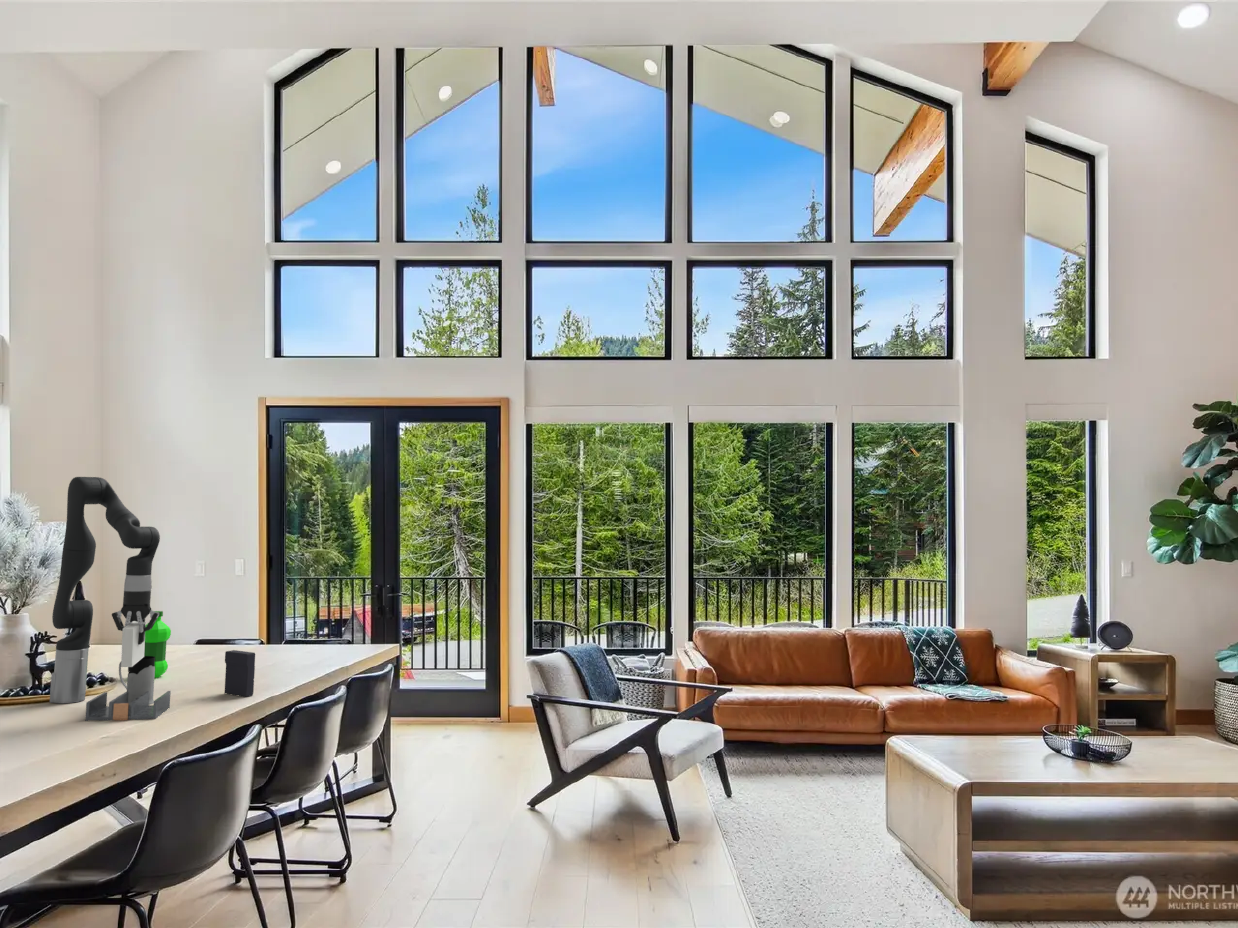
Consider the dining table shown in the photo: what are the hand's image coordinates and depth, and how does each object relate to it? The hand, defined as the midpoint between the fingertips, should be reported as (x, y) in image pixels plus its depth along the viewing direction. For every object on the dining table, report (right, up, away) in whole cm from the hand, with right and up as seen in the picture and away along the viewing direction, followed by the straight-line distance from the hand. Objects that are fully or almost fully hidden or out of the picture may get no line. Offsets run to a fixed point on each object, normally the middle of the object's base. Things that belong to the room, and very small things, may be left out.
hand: (133, 643), depth 264 cm
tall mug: (-9, -23, +14) cm, 28 cm away
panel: (0, -6, 0) cm, 6 cm away
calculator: (+19, -25, +30) cm, 44 cm away
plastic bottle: (-26, -25, +57) cm, 68 cm away
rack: (-1, -22, -2) cm, 22 cm away
